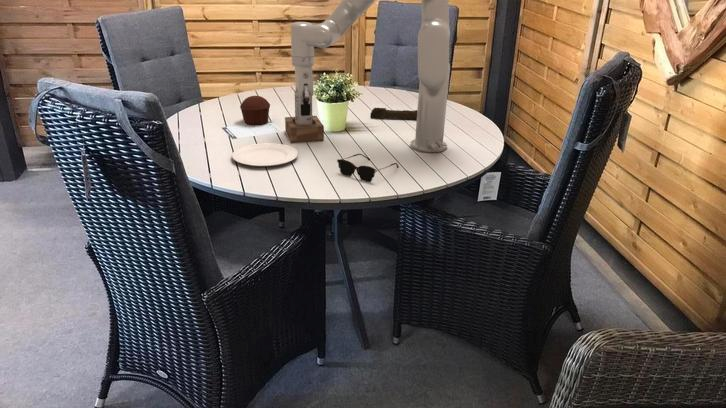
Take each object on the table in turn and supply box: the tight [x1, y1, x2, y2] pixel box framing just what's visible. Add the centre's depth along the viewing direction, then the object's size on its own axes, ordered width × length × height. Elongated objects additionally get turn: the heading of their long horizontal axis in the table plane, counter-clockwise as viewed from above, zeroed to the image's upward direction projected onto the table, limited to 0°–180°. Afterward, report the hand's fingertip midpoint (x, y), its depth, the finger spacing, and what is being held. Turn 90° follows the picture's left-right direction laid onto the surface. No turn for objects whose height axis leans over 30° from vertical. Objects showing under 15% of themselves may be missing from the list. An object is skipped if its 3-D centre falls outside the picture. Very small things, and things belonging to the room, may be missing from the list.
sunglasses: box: [336, 153, 399, 183], centre depth 164 cm, size 14×16×5 cm
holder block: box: [284, 115, 325, 144], centre depth 192 cm, size 14×12×6 cm
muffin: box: [239, 95, 271, 127], centre depth 205 cm, size 12×11×10 cm
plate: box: [231, 142, 299, 168], centre depth 172 cm, size 21×21×2 cm
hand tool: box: [370, 107, 417, 122], centre depth 217 cm, size 19×4×5 cm, turn 88°
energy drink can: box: [294, 87, 313, 125], centre depth 189 cm, size 6×6×15 cm
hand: (303, 112), depth 190 cm, fingers closed on energy drink can, 6 cm apart
